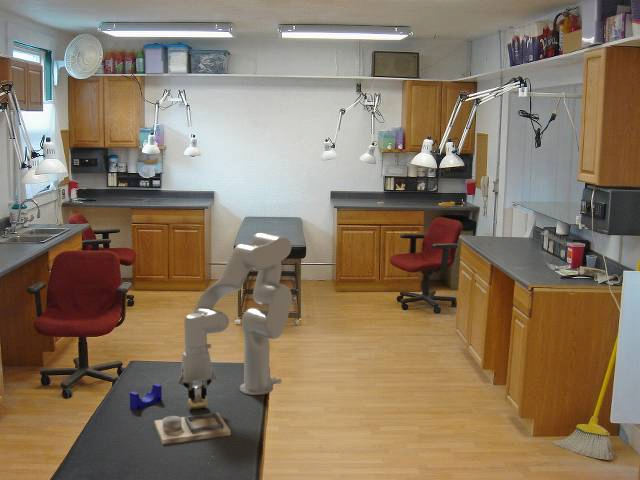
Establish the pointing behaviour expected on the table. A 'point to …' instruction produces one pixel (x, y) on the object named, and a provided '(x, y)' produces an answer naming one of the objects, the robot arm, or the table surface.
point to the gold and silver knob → (197, 398)
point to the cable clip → (146, 398)
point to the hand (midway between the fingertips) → (197, 398)
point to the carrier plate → (191, 428)
